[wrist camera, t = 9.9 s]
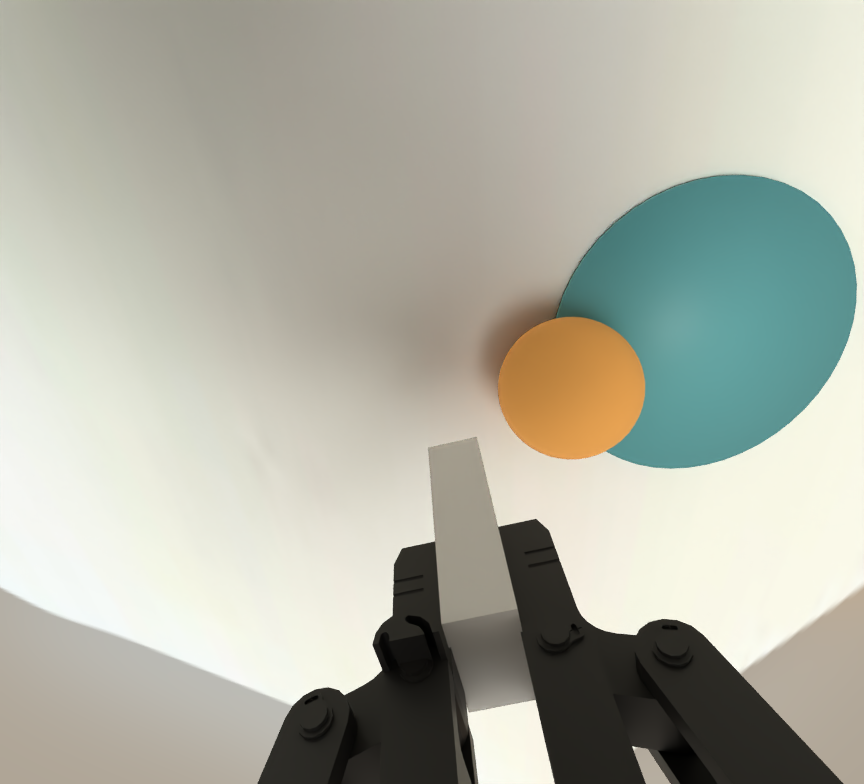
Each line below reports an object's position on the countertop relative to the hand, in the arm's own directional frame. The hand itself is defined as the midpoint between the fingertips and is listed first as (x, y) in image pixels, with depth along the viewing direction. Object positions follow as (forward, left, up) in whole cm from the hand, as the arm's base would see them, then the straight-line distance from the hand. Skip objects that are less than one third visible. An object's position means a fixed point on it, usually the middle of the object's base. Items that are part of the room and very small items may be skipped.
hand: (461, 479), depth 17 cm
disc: (+6, +9, -8) cm, 14 cm away
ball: (+3, +4, -5) cm, 7 cm away
